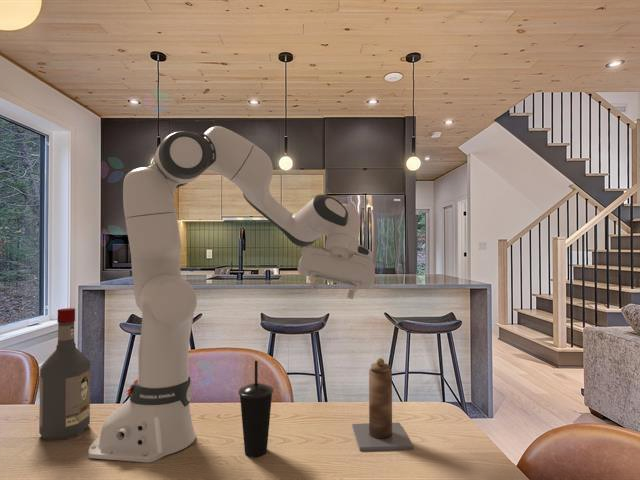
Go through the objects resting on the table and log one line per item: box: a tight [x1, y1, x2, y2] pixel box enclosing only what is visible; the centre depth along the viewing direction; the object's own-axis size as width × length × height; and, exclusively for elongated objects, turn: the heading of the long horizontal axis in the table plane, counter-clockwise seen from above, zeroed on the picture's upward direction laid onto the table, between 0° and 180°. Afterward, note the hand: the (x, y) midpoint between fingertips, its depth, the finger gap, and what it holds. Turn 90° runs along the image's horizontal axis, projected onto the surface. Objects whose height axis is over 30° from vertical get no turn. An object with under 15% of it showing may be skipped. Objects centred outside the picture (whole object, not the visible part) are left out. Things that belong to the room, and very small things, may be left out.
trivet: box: [351, 422, 414, 452], centre depth 96 cm, size 12×12×1 cm
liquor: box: [38, 307, 91, 440], centre depth 100 cm, size 9×9×30 cm
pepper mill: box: [368, 357, 393, 439], centre depth 96 cm, size 5×5×18 cm
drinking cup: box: [238, 360, 274, 458], centre depth 90 cm, size 8×8×20 cm
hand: (332, 293), depth 102 cm, fingers open, 8 cm apart
